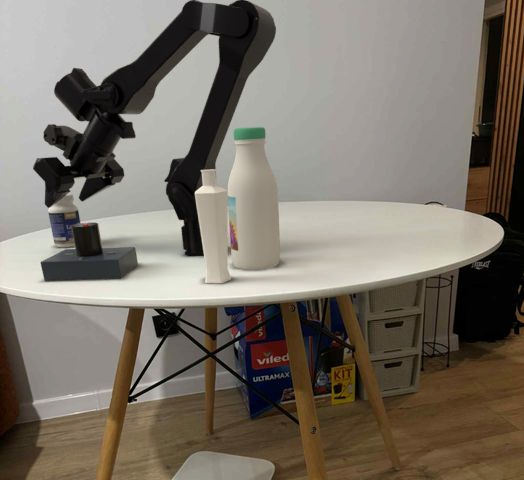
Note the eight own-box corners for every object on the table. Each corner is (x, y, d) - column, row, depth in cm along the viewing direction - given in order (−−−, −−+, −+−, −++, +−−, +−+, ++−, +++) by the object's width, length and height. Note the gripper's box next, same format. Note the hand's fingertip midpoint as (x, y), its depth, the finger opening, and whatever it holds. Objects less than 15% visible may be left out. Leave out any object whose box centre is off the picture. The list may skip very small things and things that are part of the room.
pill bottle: (74, 247, 100) (64, 196, 96) (49, 248, 101) (38, 196, 97) (89, 242, 105) (80, 192, 101) (65, 242, 106) (55, 193, 102)
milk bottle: (287, 260, 82) (284, 126, 74) (268, 271, 75) (262, 126, 67) (245, 257, 85) (237, 128, 77) (223, 268, 78) (212, 129, 70)
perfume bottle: (207, 286, 69) (196, 171, 63) (197, 279, 73) (187, 170, 67) (237, 281, 71) (230, 169, 65) (227, 274, 75) (219, 168, 69)
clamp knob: (74, 253, 80) (69, 222, 78) (100, 249, 81) (95, 219, 79) (78, 257, 76) (72, 225, 74) (105, 254, 78) (99, 222, 76)
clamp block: (138, 264, 84) (135, 245, 82) (121, 278, 75) (117, 258, 74) (68, 266, 84) (64, 248, 83) (44, 281, 76) (39, 260, 75)
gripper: (102, 109, 98) (70, 169, 107) (28, 106, 83) (-3, 177, 91) (141, 150, 99) (105, 207, 107) (74, 156, 83) (39, 222, 91)
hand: (64, 202), depth 99 cm, fingers open, 9 cm apart
